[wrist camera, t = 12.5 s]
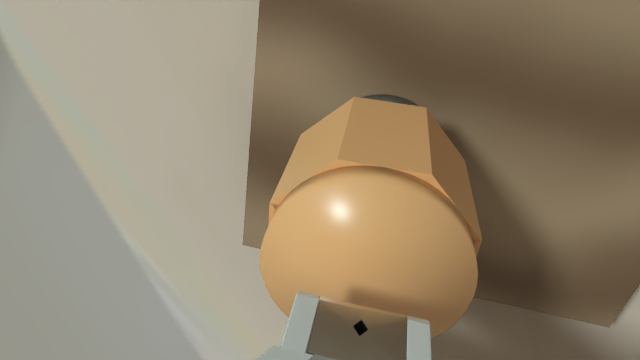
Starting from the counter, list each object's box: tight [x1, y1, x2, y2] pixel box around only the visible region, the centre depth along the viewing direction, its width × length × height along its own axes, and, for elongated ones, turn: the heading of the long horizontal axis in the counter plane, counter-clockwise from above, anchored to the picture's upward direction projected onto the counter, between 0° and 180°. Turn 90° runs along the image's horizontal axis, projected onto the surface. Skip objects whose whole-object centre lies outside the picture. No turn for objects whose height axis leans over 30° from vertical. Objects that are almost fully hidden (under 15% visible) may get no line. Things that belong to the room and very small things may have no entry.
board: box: [243, 0, 640, 327], centre depth 16 cm, size 20×16×2 cm
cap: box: [260, 97, 482, 339], centre depth 14 cm, size 5×5×5 cm
